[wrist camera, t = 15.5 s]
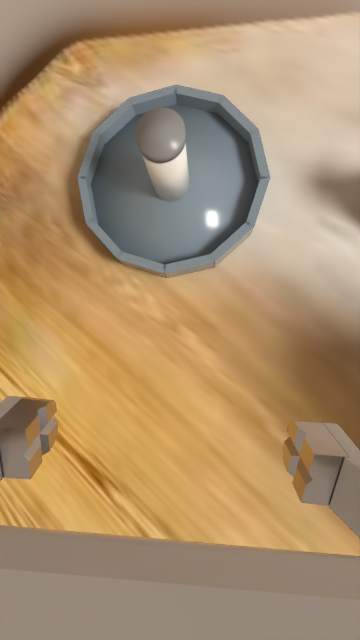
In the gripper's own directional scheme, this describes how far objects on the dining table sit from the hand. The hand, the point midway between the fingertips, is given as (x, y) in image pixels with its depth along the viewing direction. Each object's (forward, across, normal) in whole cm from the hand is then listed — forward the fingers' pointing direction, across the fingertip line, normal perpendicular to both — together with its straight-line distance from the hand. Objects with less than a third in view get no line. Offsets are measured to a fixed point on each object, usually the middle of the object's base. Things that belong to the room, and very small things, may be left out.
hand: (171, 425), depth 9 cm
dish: (+29, +2, -12) cm, 32 cm away
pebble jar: (+28, +2, -13) cm, 31 cm away
